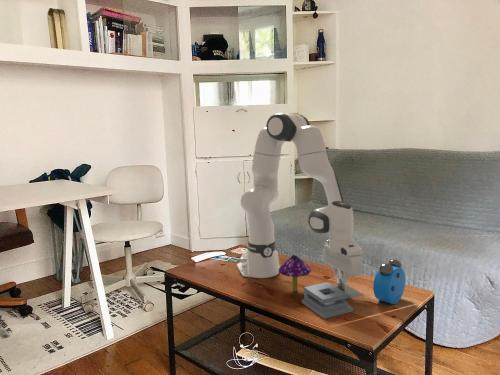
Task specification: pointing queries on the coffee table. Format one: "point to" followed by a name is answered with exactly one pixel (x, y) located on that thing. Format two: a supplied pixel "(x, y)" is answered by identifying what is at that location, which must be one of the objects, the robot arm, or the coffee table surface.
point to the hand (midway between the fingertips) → (341, 280)
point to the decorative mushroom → (294, 269)
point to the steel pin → (340, 280)
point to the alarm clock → (389, 282)
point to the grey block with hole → (326, 300)
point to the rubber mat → (351, 292)
